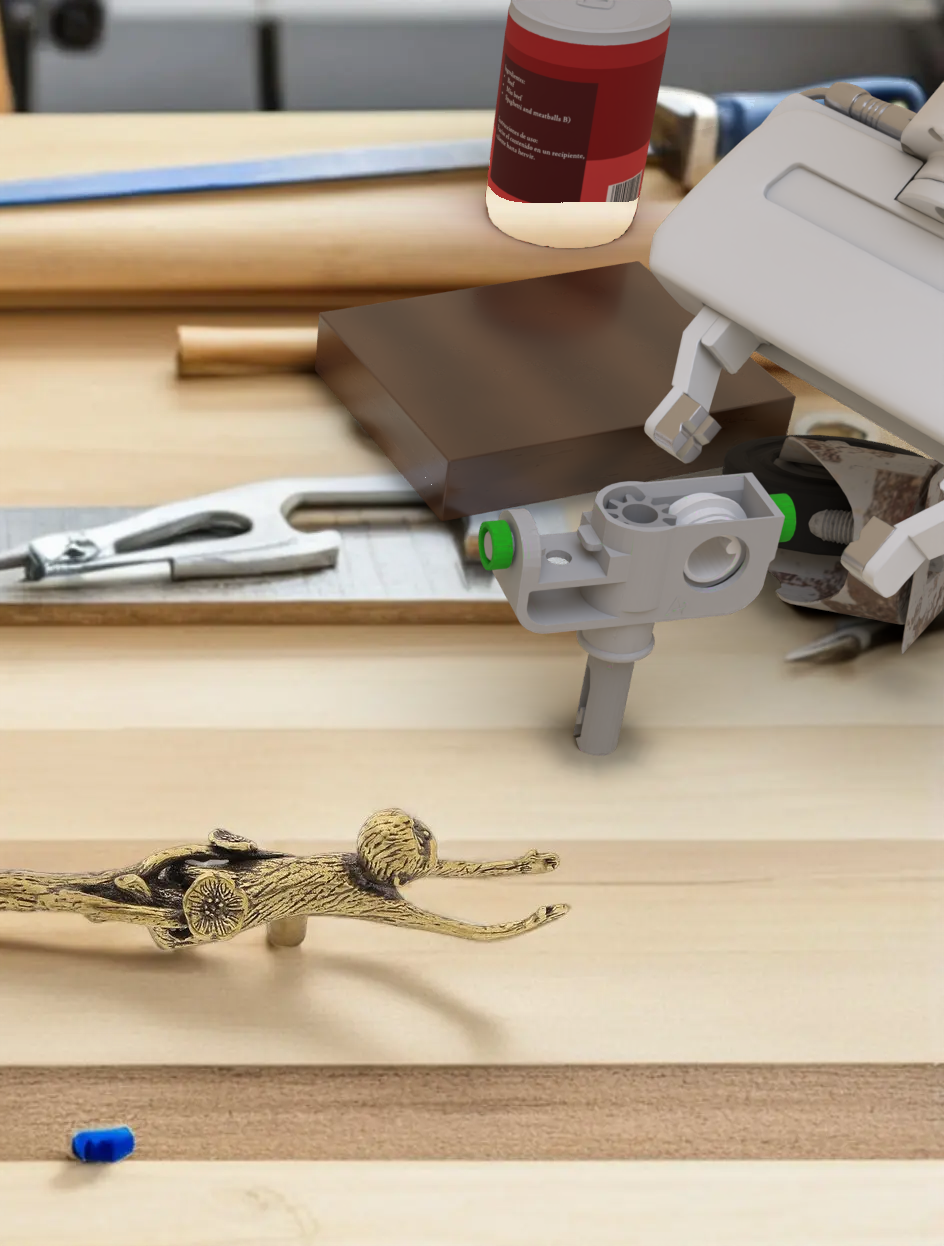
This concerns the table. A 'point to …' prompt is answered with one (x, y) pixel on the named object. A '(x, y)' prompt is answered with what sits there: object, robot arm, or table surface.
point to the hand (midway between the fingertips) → (758, 511)
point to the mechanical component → (636, 574)
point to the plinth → (530, 387)
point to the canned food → (577, 99)
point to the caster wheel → (845, 520)
